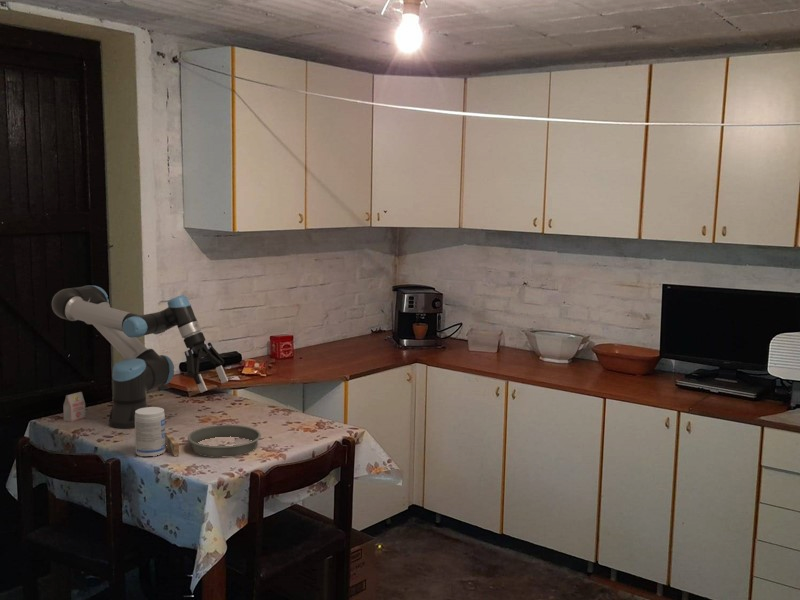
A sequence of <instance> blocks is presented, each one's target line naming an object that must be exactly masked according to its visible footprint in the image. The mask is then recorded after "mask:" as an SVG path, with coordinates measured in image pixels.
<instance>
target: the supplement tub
mask: <svg viewBox="0 0 800 600" xmlns="http://www.w3.org/2000/svg"><path fill="white" fill-rule="evenodd" d="M165 414H166V413H165V409H164V408H162V407H159V406H148V407H146V408H141V409H138V410H136V411H135V428H134V434H135V435H134V436H135V437H134V441H135V454H136V455H138V456H139V455H140V457H142V456H153V457H157V455H158V456H161V455H163V454H164V453H165V452H166V445H165V433H166V416H165ZM162 453H163V454H162ZM160 454H161V455H160Z"/></svg>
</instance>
